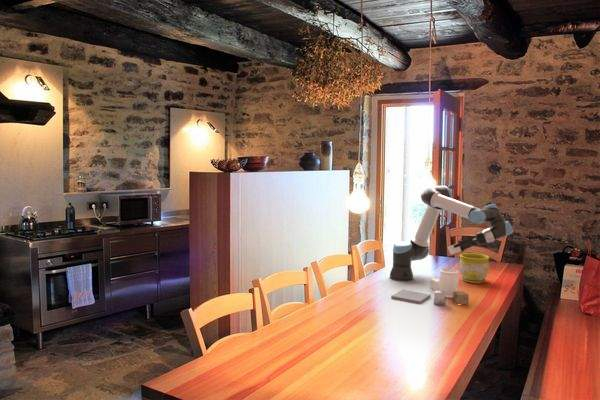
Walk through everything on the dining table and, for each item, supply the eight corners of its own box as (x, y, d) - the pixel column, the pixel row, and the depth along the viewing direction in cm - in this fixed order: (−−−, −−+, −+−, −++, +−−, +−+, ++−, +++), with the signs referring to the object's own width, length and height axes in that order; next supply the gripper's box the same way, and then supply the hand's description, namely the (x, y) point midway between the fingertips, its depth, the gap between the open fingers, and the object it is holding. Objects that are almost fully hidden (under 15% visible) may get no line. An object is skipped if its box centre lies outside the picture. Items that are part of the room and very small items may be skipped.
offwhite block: (430, 288, 306) (430, 278, 305) (439, 288, 307) (439, 278, 306) (434, 291, 300) (435, 281, 299) (444, 290, 301) (444, 280, 300)
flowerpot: (492, 284, 316) (493, 259, 314) (463, 284, 316) (464, 258, 314) (482, 277, 333) (483, 253, 332) (455, 277, 334) (456, 252, 332)
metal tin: (436, 302, 278) (436, 289, 277) (447, 304, 275) (447, 291, 274) (432, 304, 273) (432, 292, 272) (443, 306, 270) (443, 294, 269)
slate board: (402, 292, 297) (402, 289, 297) (430, 297, 287) (430, 294, 287) (391, 298, 284) (391, 295, 284) (420, 303, 274) (420, 301, 274)
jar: (455, 293, 294) (456, 268, 293) (459, 299, 284) (460, 272, 283) (437, 293, 295) (438, 268, 294) (440, 298, 285) (441, 272, 284)
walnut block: (452, 302, 278) (452, 291, 278) (462, 301, 279) (463, 291, 279) (457, 305, 272) (458, 294, 272) (468, 304, 274) (468, 294, 273)
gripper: (487, 239, 275) (450, 254, 279) (487, 246, 297) (452, 259, 302) (481, 227, 277) (444, 241, 282) (481, 234, 300) (447, 248, 305)
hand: (449, 251), depth 292 cm, fingers open, 13 cm apart
